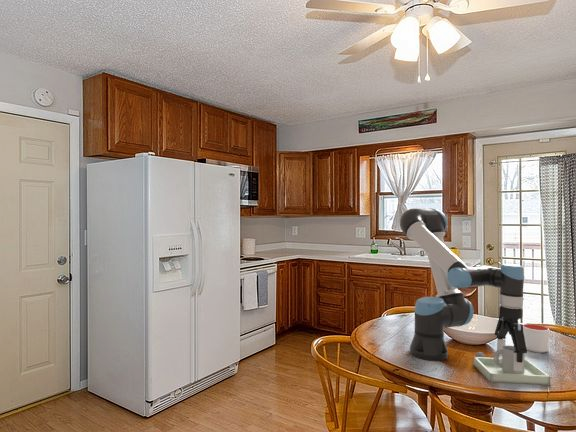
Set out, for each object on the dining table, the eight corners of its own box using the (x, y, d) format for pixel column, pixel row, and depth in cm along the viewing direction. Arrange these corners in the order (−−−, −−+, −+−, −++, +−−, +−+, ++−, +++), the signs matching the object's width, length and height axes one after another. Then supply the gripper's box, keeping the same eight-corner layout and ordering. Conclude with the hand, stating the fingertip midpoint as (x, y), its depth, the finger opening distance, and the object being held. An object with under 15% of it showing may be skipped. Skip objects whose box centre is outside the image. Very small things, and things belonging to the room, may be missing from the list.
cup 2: (552, 354, 167) (553, 331, 167) (527, 352, 169) (527, 329, 169) (542, 346, 177) (543, 324, 177) (518, 344, 179) (518, 323, 179)
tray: (490, 381, 139) (490, 373, 138) (473, 364, 154) (473, 356, 154) (550, 385, 137) (550, 376, 137) (526, 367, 152) (527, 359, 152)
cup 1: (525, 378, 141) (526, 353, 141) (494, 373, 145) (494, 349, 145) (522, 370, 147) (523, 347, 147) (492, 366, 151) (493, 343, 151)
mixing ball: (477, 362, 156) (477, 353, 156) (473, 359, 160) (474, 350, 160) (486, 363, 156) (486, 354, 156) (483, 359, 160) (483, 351, 160)
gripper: (539, 316, 133) (537, 378, 133) (506, 298, 157) (504, 351, 158) (516, 314, 133) (514, 376, 134) (486, 298, 158) (484, 350, 159)
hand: (508, 363), depth 146 cm, fingers open, 13 cm apart
